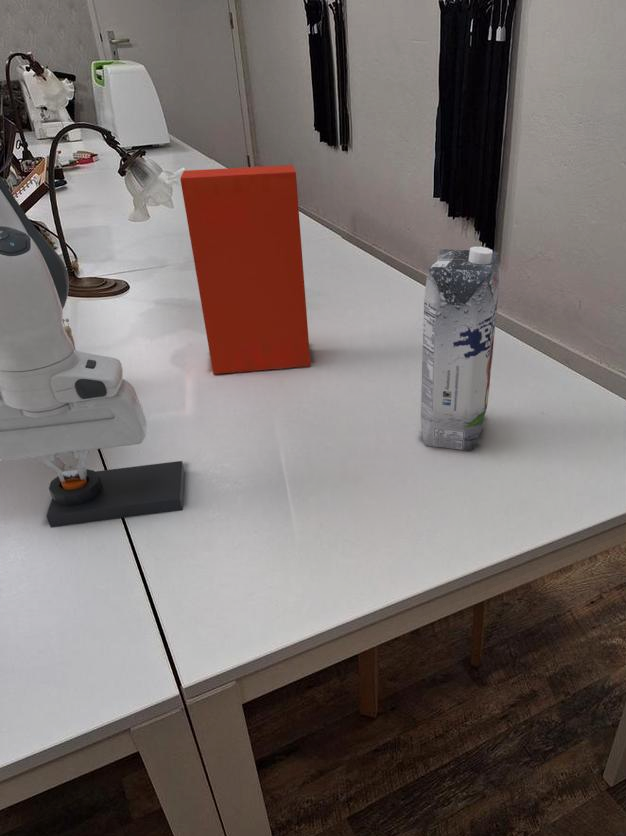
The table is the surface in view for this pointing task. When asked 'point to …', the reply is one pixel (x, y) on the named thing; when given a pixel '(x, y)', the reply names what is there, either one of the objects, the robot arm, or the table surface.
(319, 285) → the table surface
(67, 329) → the snail figurine
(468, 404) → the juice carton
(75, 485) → the button
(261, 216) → the file binder
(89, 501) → the orange push button base
